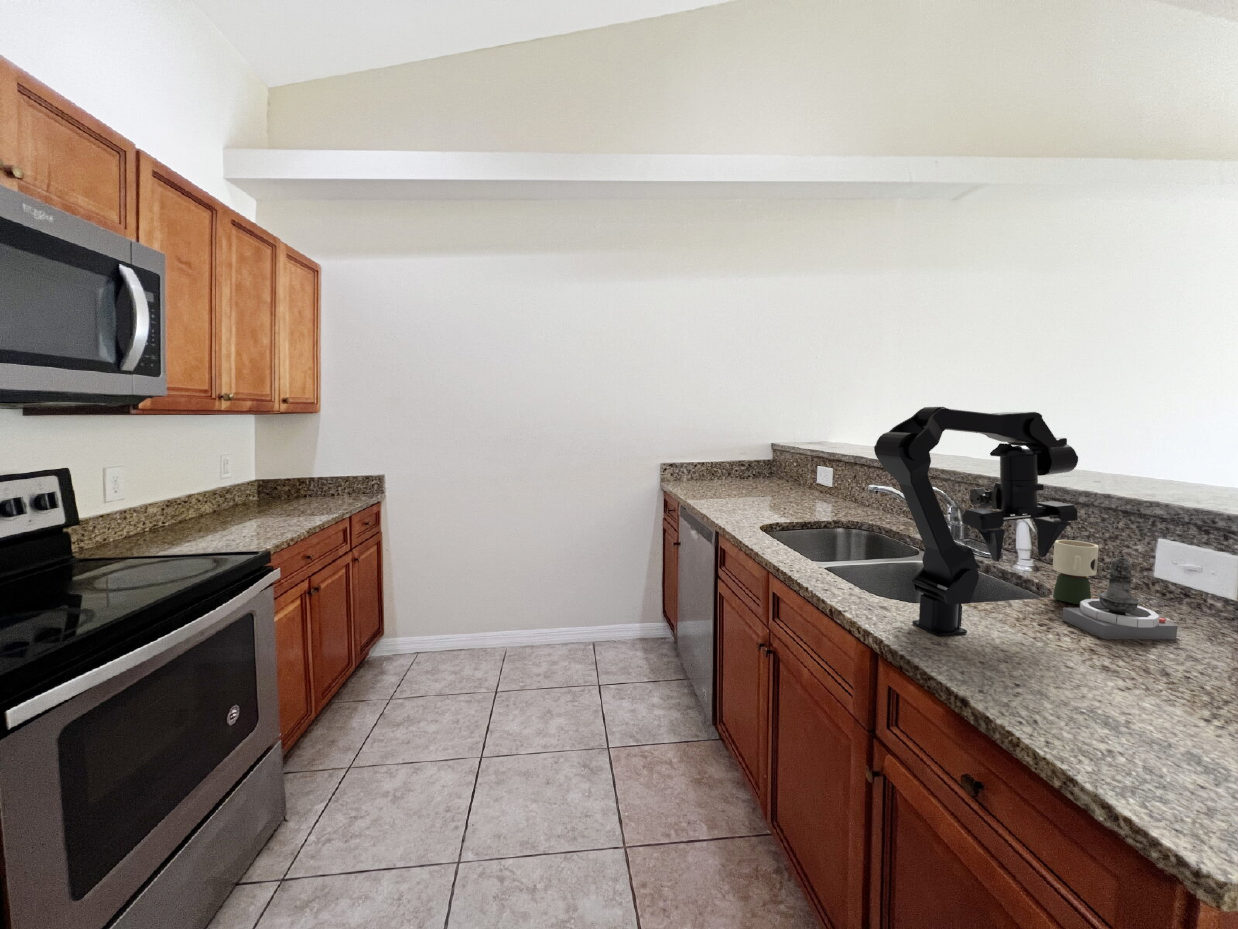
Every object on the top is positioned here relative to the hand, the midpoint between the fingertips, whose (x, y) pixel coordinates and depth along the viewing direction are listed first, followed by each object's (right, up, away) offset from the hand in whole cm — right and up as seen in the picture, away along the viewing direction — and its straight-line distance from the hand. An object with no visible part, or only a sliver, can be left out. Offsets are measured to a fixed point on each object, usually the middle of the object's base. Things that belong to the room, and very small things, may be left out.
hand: (1018, 558), depth 103 cm
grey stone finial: (+17, -11, -2) cm, 20 cm away
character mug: (+20, -12, +12) cm, 26 cm away
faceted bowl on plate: (+17, -13, -2) cm, 21 cm away
